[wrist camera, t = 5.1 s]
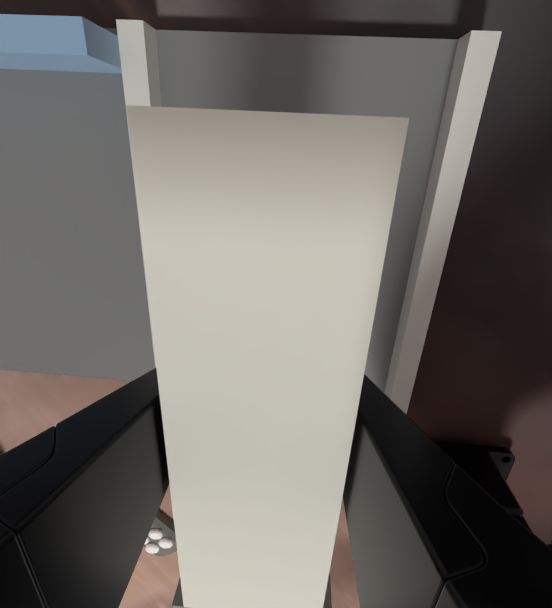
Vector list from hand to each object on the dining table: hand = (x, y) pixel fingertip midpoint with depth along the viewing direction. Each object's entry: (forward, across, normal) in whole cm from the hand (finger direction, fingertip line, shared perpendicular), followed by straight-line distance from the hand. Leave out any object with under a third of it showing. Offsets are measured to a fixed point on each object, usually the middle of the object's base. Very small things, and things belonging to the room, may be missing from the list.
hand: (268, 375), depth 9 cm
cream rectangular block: (+2, 0, 0) cm, 2 cm away
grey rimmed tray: (+10, +6, 0) cm, 12 cm away
